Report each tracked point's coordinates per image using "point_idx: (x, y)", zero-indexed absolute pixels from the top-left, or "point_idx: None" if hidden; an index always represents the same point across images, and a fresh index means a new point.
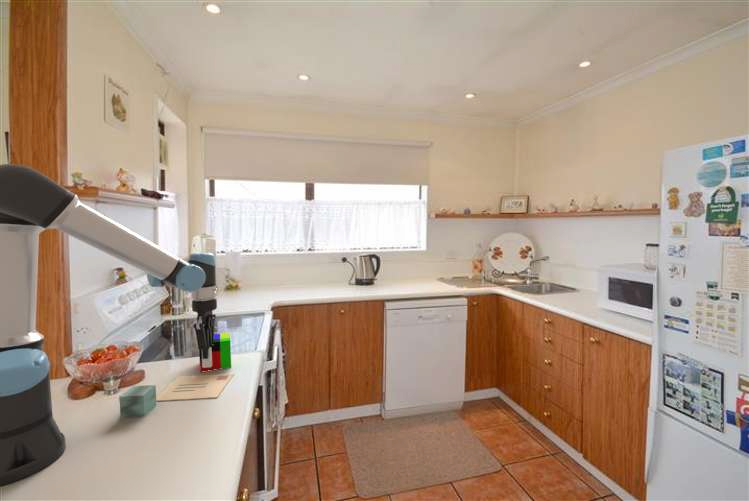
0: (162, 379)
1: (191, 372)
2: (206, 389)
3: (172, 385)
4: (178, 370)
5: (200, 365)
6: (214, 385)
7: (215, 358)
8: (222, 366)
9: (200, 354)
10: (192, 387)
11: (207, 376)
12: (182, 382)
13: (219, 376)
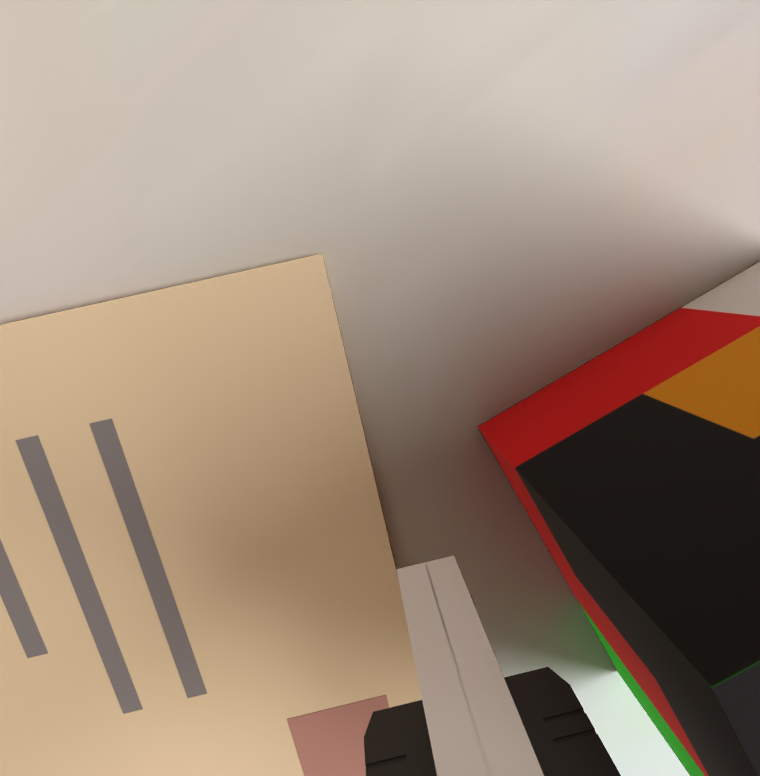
0: (241, 67)
1: (472, 320)
2: (79, 753)
3: (84, 350)
4: (524, 97)
5: (506, 460)
6: (175, 769)
7: (621, 647)
8: (593, 624)
9: (579, 544)
10: (88, 601)
11: (360, 589)
12: (176, 416)
13: (372, 704)
